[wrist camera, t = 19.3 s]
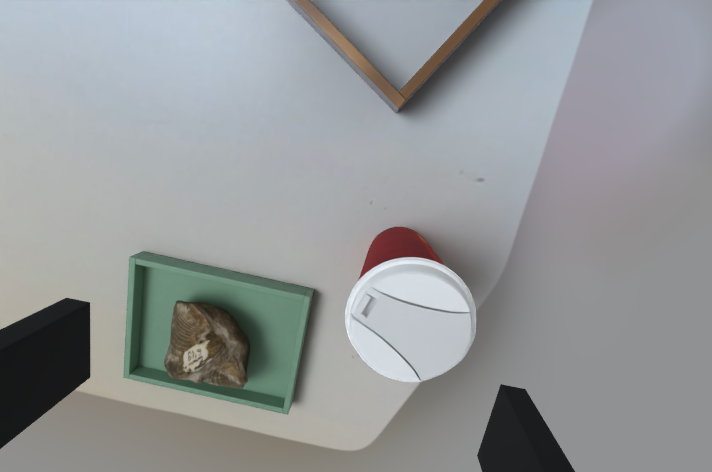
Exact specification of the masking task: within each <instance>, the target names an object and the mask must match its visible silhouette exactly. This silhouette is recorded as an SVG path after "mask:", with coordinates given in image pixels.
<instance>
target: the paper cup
mask: <svg viewBox="0 0 712 472" xmlns="http://www.w3.org/2000/svg"><path fill="white" fill-rule="evenodd" d="M345 325H346V330H347V334H348V336H349V339H350V341H351V343H352V345H353V346H354V348H355V350H356V351H357V352H358V353H359V355H360V357H361V358H362V359H363V360H364V361H365V363H366V364H367V365H368V366H370V367H371V368H372V369H373V370H375V371H376V372H378V373H379V374H381V375H383V376H385V377H388V378H390V379H394V380H397V381H403V382H421V381H424V380H427V379H431V378H433V377H436V376H438V375H441V374H443V373H445V372H446V371H448V370H450V369H451V368H452V367H453V366H455V365H457V364H458V363H459V362H460V361H461V360H462V359H463V358H464V356H465V355H466V353H467V352H468V350H469V348H470V346H471V344H472V342H473V340H474V337H475V335H476V309H475V303H474V300H473V297H472V295H471V293H470V291H469V289H468V287H467V286H466V284H465V283H464V282H463V280H462V279H461V278H460V277H459V276H458V275H457V274H456V273H455V272H454V271H452V270H451V269H449V268H448V267H446V266H445V265H444V264H443V263H442V261H441V260H440V259H439V257H438V256H437V255H436V254H435V252H434V251H433V250H432V248H431V247H430V246H429V245H428V243H427V242H426V241H425V240H424V239H423V238H422V237H421V236H420V235H419V234H418V233H416V232H415V231H413V230H411V229H408V228H404V227H394V228H390V229H387V230H385V231H383V232H381V233H380V234H379V235H378V236H377V237H376V238H375V239H374V240H373V242H372V244H371V246H370V248H369V251H368V254H367V257H366V260H365V263H364V266H363V269H362V272H361V274H360V277H359V280H358V282H357V283H356V285H355V286H354V287H353V289H352V291H351V293H350V295H349V298H348V301H347V304H346V310H345Z"/></svg>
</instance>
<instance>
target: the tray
mask: <svg viewBox="0 0 712 472" xmlns="http://www.w3.org/2000/svg"><path fill="white" fill-rule="evenodd" d="M313 293H314V289H311V288H306V287H302V286H297V285H293V284H288V283H283V282H279V281H274V280H270V279H265V278H261V277H256V276H252V275H247V274H243V273H238V272H234V271H229V270H224V269H220V268H215V267H211V266H206V265H202V264H197V263H193V262H188V261H184V260H179V259H175V258H170V257H166V256H161V255H156V254H152V253H147V252H143V251H142V252H140V253H138V254H136V255H133V256H131V257H130V258H129V277H128V297H127V317H126V337H125V357H124V378H127V379H132V380H136V381H140V382H145V383H149V384H154V385H158V386H163V387H167V388H172V389H176V390H181V391H185V392H190V393H194V394H198V395H203V396H207V397H212V398H216V399H221V400H225V401H230V402H234V403H239V404H243V405H247V406H252V407H256V408H261V409H265V410H270V411H274V412H279V413H283V414H287V415H288V413H289V410H290V408H291V405H292V401H293V396H294V391H295V386H296V381H297V376H298V370H299V365H300V360H301V355H302V350H303V344H304V339H305V334H306V329H307V324H308V318H309V313H310V308H311V303H312V298H313ZM178 300H181V301H186V302H201V303H207V304H211V305H214V306H217V307H220V308H222V309H224V310H226V311H228V312H229V313H230V314H231V315H232V316H233V317H234V318H235V319H236V321H237V322H238V324H239V327H240V329H242V330H243V331H244V332H245V334H246V335H247V337H248V339H249V343H250V354H249V360H248V367H247V378H248V382H247V383H246V384H245V385H244V387H243V388H231V387H225V386H215V385H212V384H209V383H207V382H205V381H203V382H202V383H195V382H193V381H191V380H180V379H175V378H172V377H170V376H169V374H168V372H167V370H166V368H165V366H164V360H165V356H166V354H167V351H168V347H169V345H170V337H171V322H172V316H173V308H174V306H175V303H176V301H178Z"/></svg>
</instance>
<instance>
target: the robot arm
mask: <svg viewBox="0 0 712 472" xmlns="http://www.w3.org/2000/svg"><path fill="white" fill-rule="evenodd" d="M89 378H90V302H85V301H80V300H74V299H69V298H65V299H63V300H61V301H59V302H57V303H55V304H53V305H51V306H49V307H47V308H44V309H42V310H40V311H38V312H36V313H34V314H32V315H30V316H28V317H26V318H24V319H22V320H20V321H18V322H15V323H13V324H11V325H9V326H7V327H5V328H3V329H1V330H0V449H1V448H2V447H3V446H4V445H6V444H7V443H8V442H9V441H11V440H12V439H13V438H14V437H16V436H17V435H18V434H20V433H21V432H22V431H23V430H25V429H26V428H27V427H28V426H30V425H31V424H32V423H33V422H35V421H36V420H37V419H38V418H40V417H41V416H42V415H43V414H45V413H46V412H47V411H48V410H50V409H51V408H52V407H53V406H55V405H56V404H57V403H58V402H59V401H61V400H62V399H63V398H65V397H66V396H67V395H68V394H70V393H71V392H72V391H74V390H75V389H76V388H77V387H79V386H80V385H81V384H82V383H84V382H85V381H86V380H87V379H89ZM477 456H478V459H479V462H480V465H481V469H482V472H575V471H574V469H573V468H572V466H571V464H570V463H569V461H568V459H567V458H566V456H565V454H564V453H563V451H562V449H561V448H560V446H559V445H558V443H557V441H556V439H555V438H554V436H553V434H552V433H551V431H550V429H549V428H548V426H547V424H546V423H545V421H544V420H543V418H542V416H541V415H540V413H539V411H538V410H537V408H536V406H535V405H534V403H533V401H532V400H531V398H530V396H529V395H528V393H527V391H526V390H525V389H521V388H516V387H511V386H506V385H501V386H500V389H499V392H498V394H497V397H496V401H495V404H494V407H493V410H492V413H491V416H490V419H489V422H488V425H487V428H486V431H485V434H484V437H483V440H482V443H481V446H480V449H479V452H478V455H477Z"/></svg>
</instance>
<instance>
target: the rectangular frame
mask: <svg viewBox="0 0 712 472" xmlns="http://www.w3.org/2000/svg"><path fill="white" fill-rule="evenodd" d="M286 1H287V2H288V3H289V4H290V5H291V6H292V7H293V8H294V9H295V10H296V11H297V12H298V13H299V14H300V15H301V16H302V17H303V18H304V19H305V20H306V21H307V22H308V23H309V24H310V25H311V26H312V27H313V28H314V29H315V30H316V31H317V32H318V33H319V34H320V35H321V36H322V38H323V39H324V40H325V41H326V42H327V43H328V44H329V45H330V46H331V47H332V48H333V49H334V50H335V51H336V52H337V53H338V54H339V55H340V56H341V57H342V58H343V59H344V60H345V61H346V62H347V63H348V64H349V65H350V66H351V67H352V68H353V69H354V70H355V71H356V72H357V73H358V74H359V76H360V77H361V78H362V79H363V80H364V81H365V82H366V83H367V84H368V85H369V86H370V87H371V88H372V89H373V90H374V91H375V92H376V93H377V94H378V95H379V96H380V97H381V98H382V99H383V100H384V101H385V102H386V103H387V104H388V105H389V106H390V107H391V108H392V109H393V110H394V111H395V112H396V113H397V112H398V111H399V110H400V109H401V108H402V106H403V105H404V104H405V103H406V102H407V101H408V100H409V99H410V98H411V97H412V96H413V95H414V94H415V93H416V92H417V90H418V89H419V88H420V87H421V86H422V85H423V84H424V83H425V82H426V81H427V80H428V79H429V78H430V77H431V76H432V74H433V73H434V72H435V71H436V70H437V69H438V68H439V67H440V66H441V65H442V64H443V63H444V62H445V61H446V60H447V58H448V57H449V56H450V55H451V54H452V53H453V52H454V51H455V50H456V49H457V48H458V47H459V46H460V45H461V44H462V42H463V41H464V40H465V39H466V38H467V37H468V36H469V35H470V34H471V33H472V32H473V31H474V30H475V29H476V28H477V26H478V25H479V24H480V23H481V22H482V21H483V20H484V19H485V18H486V17H487V16H488V15H489V14H490V13H491V11H492V10H493V9H494V8H495V7H496V6H497V5H498V4H499V3H500V2H501V1H502V0H484V1H483V2H482V3H481V4H480V5H479V6H478V7H477V8H476V9H475V10H474V11H473V12H472V14H471V15H470V16H469V17H468V18H467V19H466V20H465V21H464V22H463V23H462V24H461V25H460V27H459V28H458V29H457V30H456V31H455V32H454V33H453V34H452V35H451V36H450V37H449V38H448V40H447V41H446V42H445V43H444V44H443V45H442V46H441V47H440V48H439V49H438V50H437V51H436V53H435V54H434V55H433V56H432V57H431V58H430V59H429V60H428V61H427V62H426V63H425V64H424V66H423V67H422V68H421V69H420V70H419V71H418V72H417V73H416V74H415V75H414V76H413V77H412V79H411V80H410V81H409V82H408V83H407V84H406V85H405V86H404V87H403V88H402V89H401V90H400V92H398V91H397V90H396V89H395V88H394V87H393V86H392V85H391V84H390V83H389V82H388V81H387V80H386V79H385V78H384V77H383V76H382V74H381V73H380V72H379V71H378V70H377V69H376V68H375V67H374V66H373V65H372V64H371V63H370V62H369V61H368V60H367V59H366V58H365V57H364V56H363V55H362V54H361V53H360V52H359V51H358V50H357V49H356V47H355V46H354V45H353V44H352V43H351V42H350V41H349V40H348V39H347V38H346V37H345V36H344V35H343V34H342V33H341V32H340V31H339V30H338V29H337V28H336V27H335V26H334V25H333V24H332V23H331V22H330V20H329V19H328V18H327V17H326V16H325V15H324V14H323V13H322V12H321V11H320V10H319V9H318V8H317V7H316V6H315V5H314V4H313V3H312V2H311V1H310V0H286Z"/></svg>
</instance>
